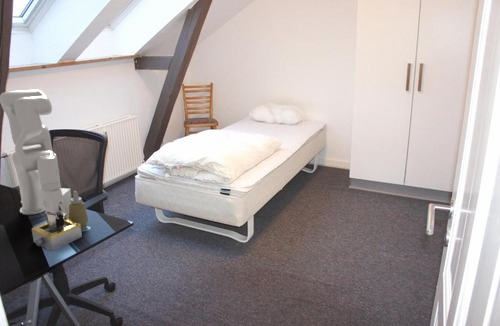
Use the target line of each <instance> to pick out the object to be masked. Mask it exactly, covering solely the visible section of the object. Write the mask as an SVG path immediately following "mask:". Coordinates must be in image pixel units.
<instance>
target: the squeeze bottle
mask: <svg viewBox="0 0 500 326" xmlns="http://www.w3.org/2000/svg"><path fill="white" fill-rule="evenodd" d="M72 195H73V196H72V197H71V199H70V201H71V203H70V204H69V219H70V220H72V221H75V222H78V223H80V225H81V231H82V230H83V229H86V227H87V226H88V222H89V218H88V217H89V216H88V212H87V208H86V205H85V202H84V201H83V199H82V197H80V196H79V194H78V192H77V190H74V191H73V194H72Z"/></svg>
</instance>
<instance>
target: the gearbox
mask: <svg viewBox="0 0 500 326" xmlns="http://www.w3.org/2000/svg"><path fill="white" fill-rule="evenodd" d="M31 232H32V233H31V235H32V238H33V243H35V245H36V246H37V247H43V248H44V249H45V248H46V249H48V250H50V251H55V250H57V249H60V248H62V247H64V246H66V245H68V244H69V243H72V242H74V241H76V240H79V239H81V238H83V235H82V230H81V225H80V223H78V222H75V221H72V220H70V219H67V220H65V221H64V225H63V228H62V229H60V230H56V231H52V230H50V229H49V224H48V222H47V221H46V222H44V223H42V224H39V225H36V226H34V227H32V228H31Z"/></svg>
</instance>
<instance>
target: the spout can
mask: <svg viewBox="0 0 500 326" xmlns="http://www.w3.org/2000/svg"><path fill="white" fill-rule="evenodd" d="M58 211H59V210H58ZM59 214H60V212H59V213H58V215H59ZM47 217H48V223H49V229H50V230H52V231H56V230H60V229H62V228H63V226H61V227H59V228H57V226H56V219H57V218H56V216H55V214H53V213H50V212H48V211H47V215H46V218H47ZM63 219H64V221H65V220H67V218H66V217H63Z"/></svg>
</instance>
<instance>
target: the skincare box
mask: <svg viewBox="0 0 500 326" xmlns="http://www.w3.org/2000/svg"><path fill="white" fill-rule="evenodd" d="M61 191H62V195H63V200H64V207H65V211H66V214H65V215H64V217H66V218H67V219H69V204H70V203H71V201H70V199H71V198H72V192H71V188H64V187H63V188H62V187H61Z"/></svg>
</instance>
